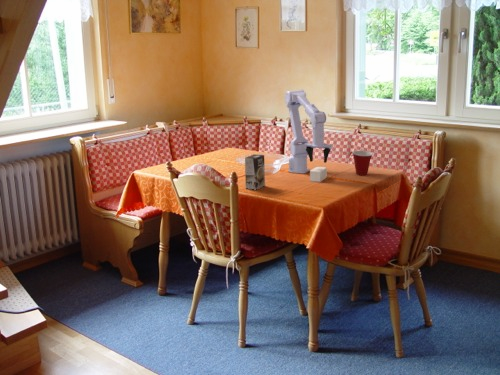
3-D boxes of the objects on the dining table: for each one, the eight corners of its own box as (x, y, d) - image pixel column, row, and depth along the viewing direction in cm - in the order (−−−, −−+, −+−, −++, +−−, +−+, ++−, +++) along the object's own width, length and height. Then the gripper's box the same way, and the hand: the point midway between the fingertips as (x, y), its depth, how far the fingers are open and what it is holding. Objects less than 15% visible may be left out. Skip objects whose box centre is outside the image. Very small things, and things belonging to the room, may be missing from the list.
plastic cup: (372, 177, 325) (372, 154, 322) (351, 176, 327) (351, 154, 324) (372, 171, 335) (373, 150, 332) (352, 171, 337) (352, 149, 334)
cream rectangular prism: (310, 181, 321) (310, 170, 320) (316, 176, 330) (316, 166, 328) (320, 182, 319) (320, 171, 317) (326, 177, 327) (326, 167, 326)
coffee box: (256, 190, 308) (255, 158, 304) (245, 188, 311) (244, 157, 307) (265, 185, 315) (264, 154, 311) (254, 184, 319) (253, 153, 314)
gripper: (302, 136, 318) (302, 162, 321) (329, 138, 311) (328, 164, 315) (307, 133, 324) (307, 159, 327) (333, 135, 317) (333, 161, 321)
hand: (318, 161), depth 322 cm, fingers open, 7 cm apart
